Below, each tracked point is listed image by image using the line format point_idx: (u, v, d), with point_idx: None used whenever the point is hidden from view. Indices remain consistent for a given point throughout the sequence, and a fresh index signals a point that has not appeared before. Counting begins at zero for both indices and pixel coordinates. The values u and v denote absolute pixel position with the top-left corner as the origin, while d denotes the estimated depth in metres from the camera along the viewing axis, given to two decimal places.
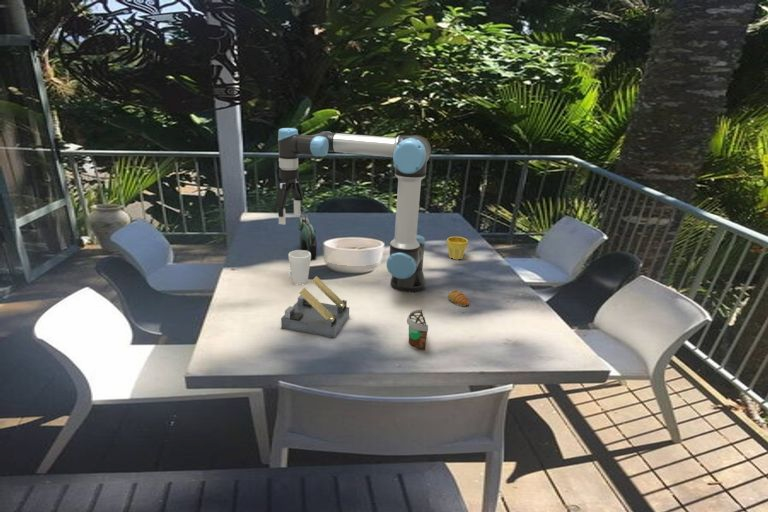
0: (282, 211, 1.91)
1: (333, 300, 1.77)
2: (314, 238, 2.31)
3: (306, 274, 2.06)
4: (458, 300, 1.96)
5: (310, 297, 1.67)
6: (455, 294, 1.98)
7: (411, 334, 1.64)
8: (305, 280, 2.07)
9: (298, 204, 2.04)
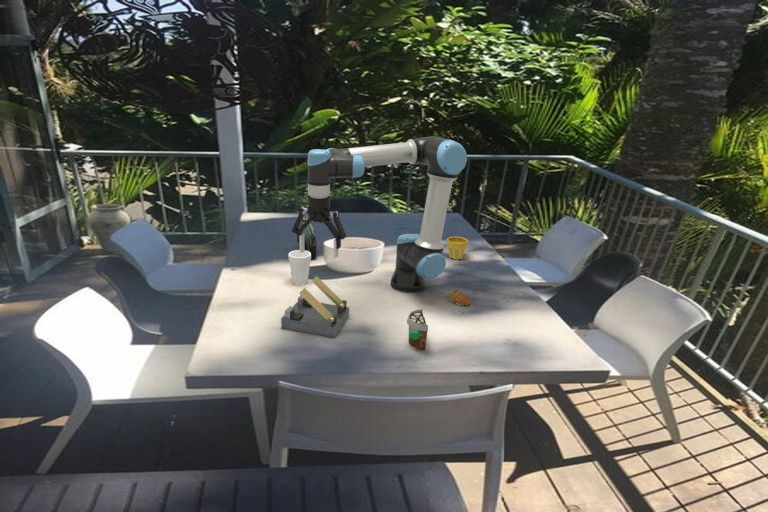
0: (298, 237, 1.73)
1: (333, 300, 1.77)
2: (314, 238, 2.31)
3: (306, 274, 2.06)
4: (459, 300, 1.96)
5: (310, 297, 1.67)
6: (456, 293, 1.98)
7: (411, 334, 1.64)
8: (305, 280, 2.07)
9: None
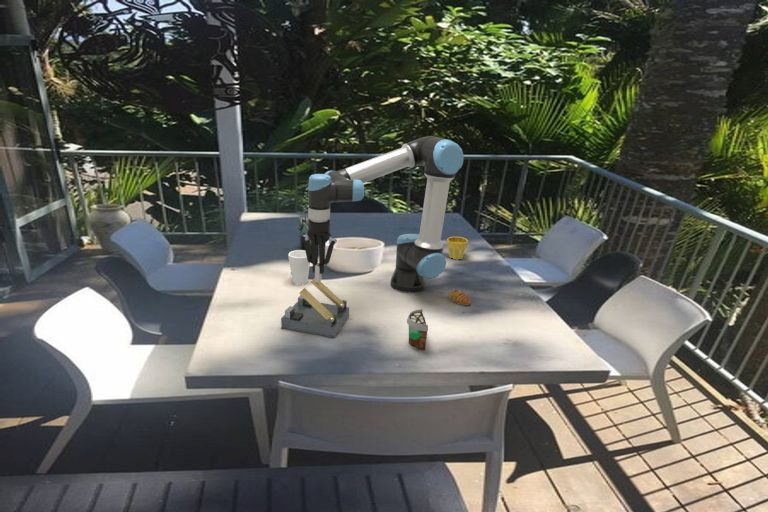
0: (314, 267, 1.75)
1: (333, 300, 1.77)
2: None
3: (306, 274, 2.06)
4: (459, 299, 1.96)
5: (310, 297, 1.67)
6: (456, 293, 1.99)
7: (411, 334, 1.64)
8: (305, 280, 2.07)
9: None
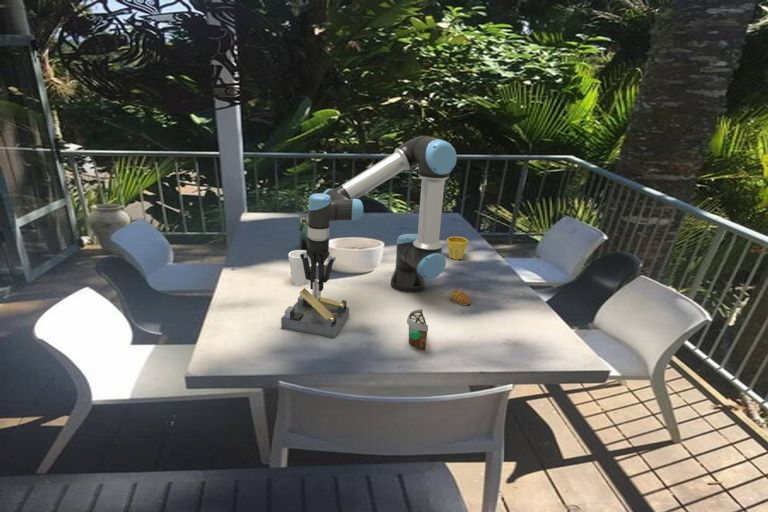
0: (312, 284, 1.77)
1: (331, 305, 1.78)
2: None
3: None
4: (460, 299, 1.96)
5: (310, 297, 1.67)
6: (457, 293, 1.99)
7: (411, 334, 1.64)
8: (305, 280, 2.07)
9: None
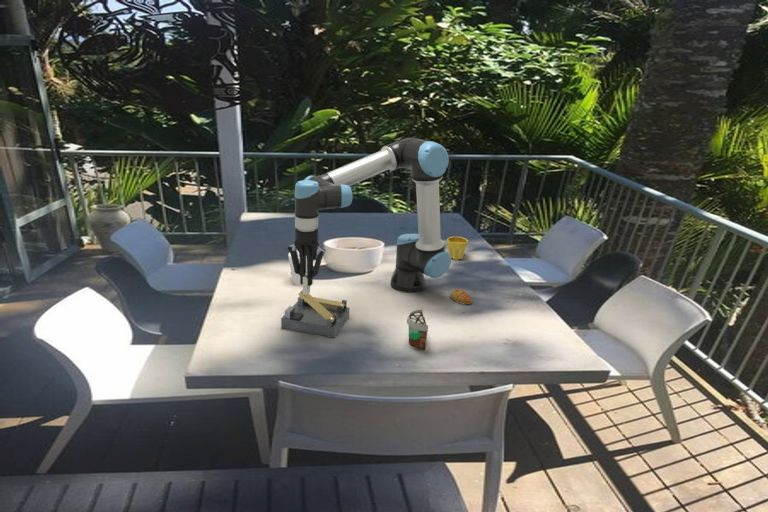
0: (302, 278, 1.65)
1: (331, 305, 1.78)
2: None
3: None
4: (461, 299, 1.97)
5: (309, 298, 1.68)
6: (458, 292, 2.00)
7: (411, 334, 1.64)
8: None
9: None
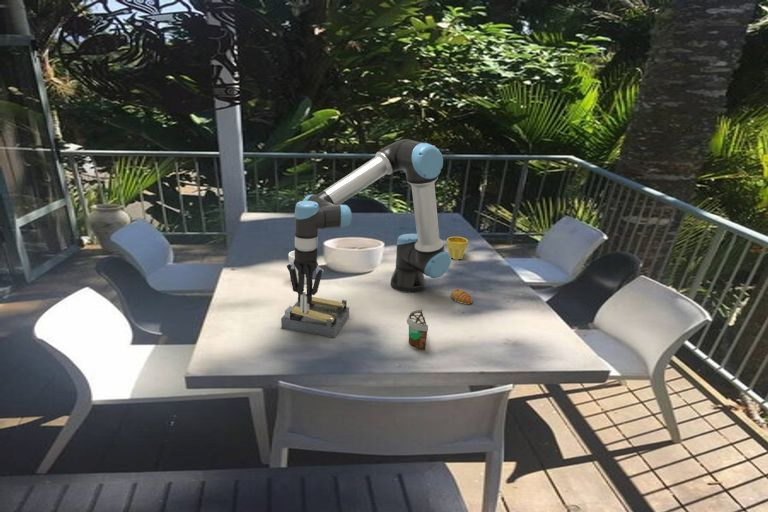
0: (299, 296, 1.67)
1: (331, 305, 1.78)
2: None
3: None
4: (462, 298, 1.97)
5: None
6: (458, 292, 2.00)
7: (411, 334, 1.64)
8: (305, 280, 2.07)
9: None
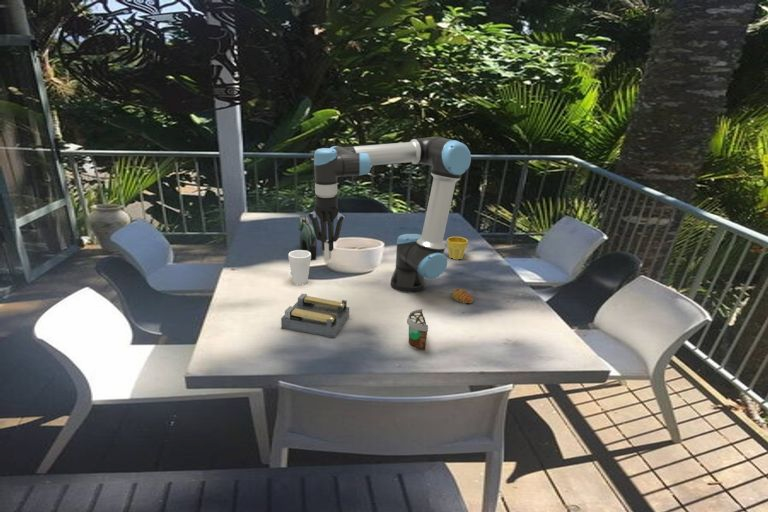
0: (323, 244, 1.72)
1: (331, 305, 1.78)
2: (314, 238, 2.31)
3: (306, 274, 2.06)
4: (463, 298, 1.98)
5: (303, 312, 1.70)
6: (459, 292, 2.00)
7: (411, 334, 1.63)
8: (305, 280, 2.07)
9: None
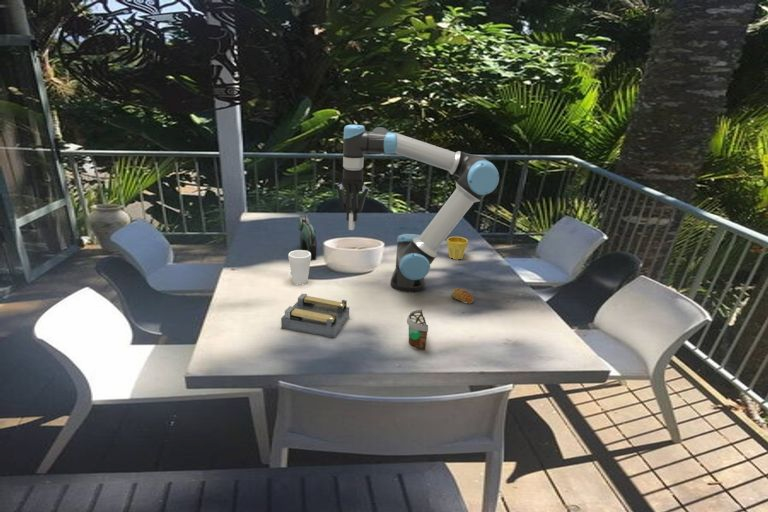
0: (348, 215, 1.85)
1: (331, 305, 1.78)
2: (314, 238, 2.31)
3: (306, 274, 2.06)
4: (463, 298, 1.98)
5: (303, 312, 1.70)
6: (459, 291, 2.00)
7: (411, 334, 1.63)
8: (305, 280, 2.07)
9: None
